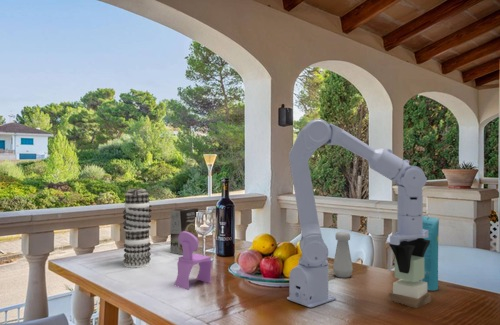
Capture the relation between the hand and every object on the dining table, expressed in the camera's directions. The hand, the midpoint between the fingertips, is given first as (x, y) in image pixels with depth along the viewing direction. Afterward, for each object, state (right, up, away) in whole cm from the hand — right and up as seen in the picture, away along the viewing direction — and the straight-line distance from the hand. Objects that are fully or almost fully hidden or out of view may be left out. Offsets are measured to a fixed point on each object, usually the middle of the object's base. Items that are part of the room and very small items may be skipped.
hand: (409, 270), depth 100 cm
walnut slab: (0, -8, 0) cm, 8 cm away
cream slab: (0, -5, 0) cm, 5 cm away
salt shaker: (-11, -8, +22) cm, 26 cm away
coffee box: (-64, -8, +55) cm, 85 cm away
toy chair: (-55, -8, +14) cm, 57 cm away
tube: (+9, -8, +10) cm, 15 cm away
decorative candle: (-76, -8, +36) cm, 84 cm away
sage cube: (0, -2, 0) cm, 2 cm away
